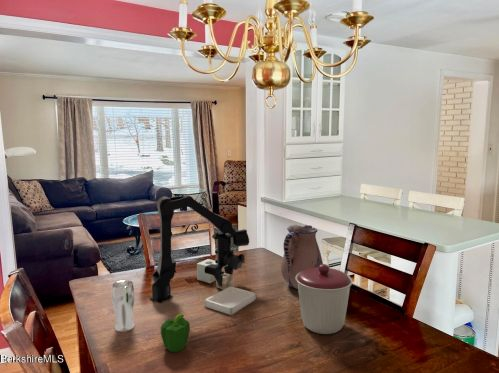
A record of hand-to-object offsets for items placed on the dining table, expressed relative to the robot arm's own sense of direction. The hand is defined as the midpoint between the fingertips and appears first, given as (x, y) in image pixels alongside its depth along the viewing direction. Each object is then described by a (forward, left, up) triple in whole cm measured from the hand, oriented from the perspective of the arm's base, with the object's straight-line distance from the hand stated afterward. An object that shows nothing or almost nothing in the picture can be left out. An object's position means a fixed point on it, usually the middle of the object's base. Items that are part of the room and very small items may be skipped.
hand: (224, 284), depth 152 cm
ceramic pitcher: (+18, -26, -2) cm, 32 cm away
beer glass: (-44, +7, -2) cm, 45 cm away
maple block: (0, 0, -1) cm, 1 cm away
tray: (-10, -11, -1) cm, 15 cm away
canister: (-7, -47, -2) cm, 48 cm away
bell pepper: (-43, -16, -2) cm, 46 cm away
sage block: (+4, +12, -2) cm, 13 cm away
